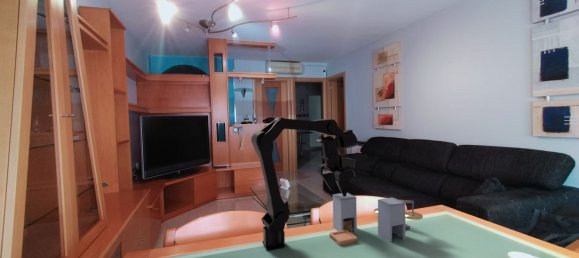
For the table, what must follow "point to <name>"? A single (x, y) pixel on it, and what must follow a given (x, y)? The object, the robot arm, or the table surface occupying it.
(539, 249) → the table surface
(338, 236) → the dish
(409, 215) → the balance
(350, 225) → the block
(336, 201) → the tall vending chute
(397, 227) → the gray arched-opening tower
